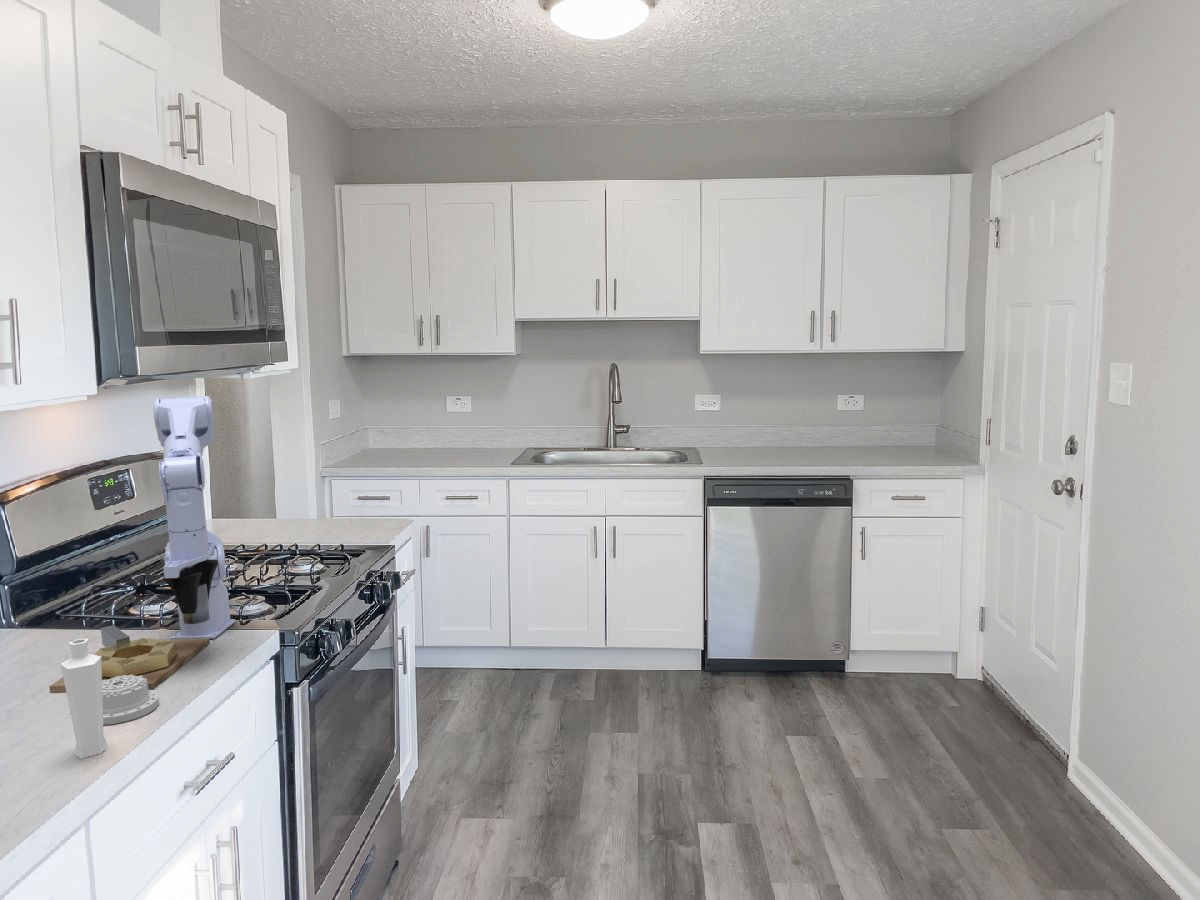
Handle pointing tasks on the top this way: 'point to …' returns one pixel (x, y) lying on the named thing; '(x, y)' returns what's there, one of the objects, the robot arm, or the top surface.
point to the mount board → (156, 677)
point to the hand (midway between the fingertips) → (195, 608)
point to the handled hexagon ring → (133, 653)
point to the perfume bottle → (85, 698)
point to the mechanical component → (126, 699)
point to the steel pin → (199, 607)
